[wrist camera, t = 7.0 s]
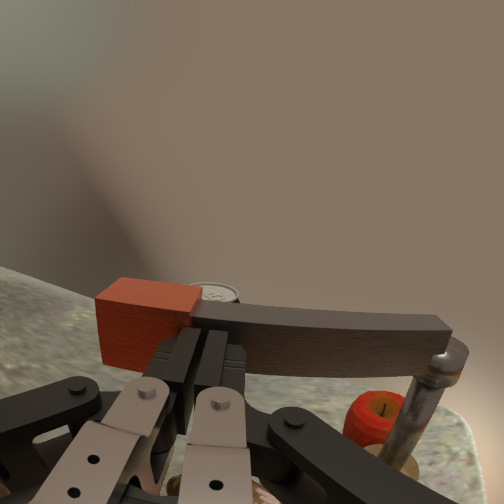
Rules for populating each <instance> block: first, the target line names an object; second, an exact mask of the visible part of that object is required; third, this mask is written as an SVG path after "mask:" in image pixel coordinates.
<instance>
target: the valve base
mask: <svg viewBox="0 0 504 504" xmlns="http://www.w3.org/2000/svg"><path fill="white" fill-rule="evenodd" d="M444 389H445V388H436V387H432V386H428V385H426V384H423V383H421V382H420V381H418V380H417V379H415V378H414V377H413V379H412V382H411V384H410V387H409V390H408V392H407V394H406V397H405V399H404V401H403V404H402V406H401V408H400V410H399V413H398V415H397V417H396V419H395V421H394V424H393V426H392V428H391V430H390V432H389V434H388V436H387V438H386V440H385V442H384V444H374V445H369V446H367V447H364V448H363V449H365V450H366V451H368V452H370V453H371V454H373V455H374V456H376V457H377V458H379V459H380V460H382V461H384V462H385V463H387V464H389V465H390V466H392V467H393V468H395V469H397V470H398V471H400V472H402V473H403V474H405V475H407V476H408V477H410V478H412V479H414V480H415V481H417V480H418V477H419V467H418V464H417V462H416V460H415V459H414V458H413V457H412V456H411V453H412V451H413V450H414V448H415V446H416V444H417V443H418V441H419V439H420V437H421V436H422V434H423V432H424V430H425V428H426V426H427V425H428V423H429V421H430V419H431V417H432V415H433V413H434V411H435V409H436V407H437V405H438V403H439V400H440V398H441V396H442V394H443V392H444Z"/></svg>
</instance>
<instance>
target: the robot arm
mask: <svg viewBox="0 0 504 504" xmlns="http://www.w3.org/2000/svg"><path fill="white" fill-rule="evenodd" d="M245 366H246V352H245V351H244V349H243V348H242V346H241V345H232V344H228V331H218V330H209V333H208V336H207V340H206V343H205V347H204V350H203V354H202V329H199V328H190V327H183V328H182V330H181V332H180V334H179V336H178V338H171V337H168V338H166V339H165V340H163V341H162V342H160V343H159V345H158V347H157V349H156V352H155V353H154V355H153V356H152V358H151V360H150V362H149V364H148V366H147V368H146V370H145V371H144V373H143V375H142V377H139V378H135V379H133V380H131V381H129V382H128V383H127V384H126V385H125V387H124V388H123V390H122V391H116V392H103V391H99V387H98V384H97V383H96V382H95V381H94V380H92V379H90V378H87V377H83V376H75V377H70V378H67V379H64V380H61V381H58V382H55V383H52V384H49V385H46V386H42V387H39V388H36V389H33V390H30V391H27V392H23V393H20V394H17V395H14V396H10V397H7V398H4V399H0V504H253V496H252V481H251V476H255V477H258V478H259V481H260V483H261V484H262V485H263V486H264V487H265V488H266V489H267V490H268V491H269V492H270V493H271V494H272V495H273V496H274V497H275V498H276V499H277V500H278V501H279V502H280V503H281V504H458V503H456V502H454V501H452V500H450V499H448V498H446V497H444V496H442V495H440V494H439V493H437V492H435V491H433V490H431V489H429V488H428V487H426V486H424V485H422V484H421V483H419V482H417V481H415V480H414V479H412V478H410V477H408V476H407V475H405V474H403V473H402V472H400V471H398V470H397V469H395V468H393V467H392V466H390V465H389V464H387V463H385V462H384V461H382V460H380V459H379V458H377V457H376V456H374V455H373V454H371V453H370V452H368V451H366V450H365V449H363V448H362V447H360V446H359V445H357V444H356V443H354V442H353V441H351V440H350V439H348V438H347V437H345V436H344V435H342V434H341V433H340V432H338V431H337V430H335V429H334V428H332V427H331V426H329V425H328V424H327V423H325V422H324V421H322V420H321V419H320V418H318V417H317V416H315V415H314V414H313V413H311V412H310V411H308V410H306V409H303V408H299V407H284V408H280V409H278V410H276V411H274V412H273V413H272V414H267V413H263V412H260V411H258V410H256V409H254V408H253V407H251V406H250V405H249V404H248V403H247V402H246V400H245V397H244V387H245ZM193 403H194V418H193V425H192V431H191V438H190V443H187V446H186V451H185V457H184V464H183V470H182V477H181V484H180V491H179V496H159V495H160V490H161V487H162V484H163V481H164V478H165V476H166V473H167V470H168V467H169V464H170V461H171V459H172V456H173V453H174V443H175V440H176V436H177V434H181V435H186V431H187V427H188V423H189V419H190V415H191V411H192V407H193ZM64 425H68V428H69V430H70V432H69V433H66V434H64V435H61V436H58V437H56V438H53V439H50V440H48V441H45V442H42V443H39V444H34V443H32V441H33V439H34V438H35V437H36V436H38V435H40V434H43V433H46V432H48V431H51V430H54V429H56V428H59V427H62V426H64Z"/></svg>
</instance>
